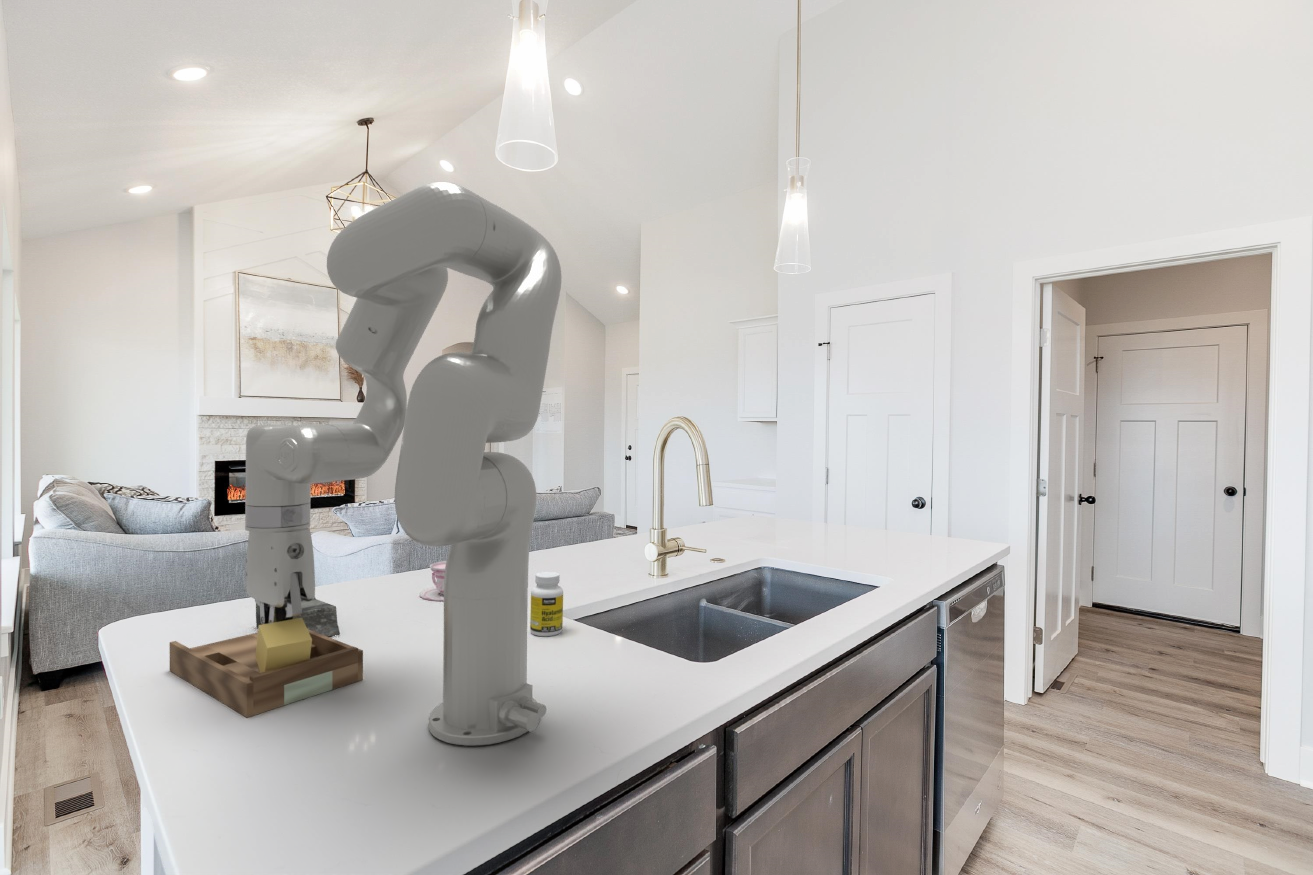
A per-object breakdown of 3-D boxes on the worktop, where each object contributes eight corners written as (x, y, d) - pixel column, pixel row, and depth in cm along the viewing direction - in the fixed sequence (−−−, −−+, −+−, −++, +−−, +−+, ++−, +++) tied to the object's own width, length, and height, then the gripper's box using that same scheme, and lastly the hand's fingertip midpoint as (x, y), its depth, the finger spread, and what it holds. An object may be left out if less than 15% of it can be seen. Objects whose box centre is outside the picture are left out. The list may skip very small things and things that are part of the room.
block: (308, 671, 84) (312, 639, 83) (263, 681, 81) (267, 648, 79) (298, 649, 87) (301, 617, 86) (255, 657, 84) (258, 625, 83)
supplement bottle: (540, 639, 106) (541, 579, 105) (524, 630, 110) (525, 573, 110) (568, 632, 109) (569, 575, 109) (552, 624, 113) (552, 569, 113)
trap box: (362, 679, 88) (363, 646, 88) (246, 717, 76) (246, 679, 76) (278, 643, 102) (278, 614, 102) (169, 670, 90) (169, 638, 90)
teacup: (448, 584, 141) (448, 556, 141) (492, 591, 136) (492, 561, 136) (406, 597, 130) (406, 567, 130) (452, 605, 125) (452, 573, 125)
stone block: (311, 618, 116) (311, 589, 116) (345, 636, 107) (345, 604, 107) (255, 628, 110) (255, 598, 110) (285, 649, 100) (286, 615, 100)
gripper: (335, 519, 85) (333, 658, 86) (281, 509, 94) (279, 634, 94) (275, 526, 79) (273, 675, 79) (223, 514, 88) (221, 648, 88)
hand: (277, 653), depth 87 cm, fingers closed
